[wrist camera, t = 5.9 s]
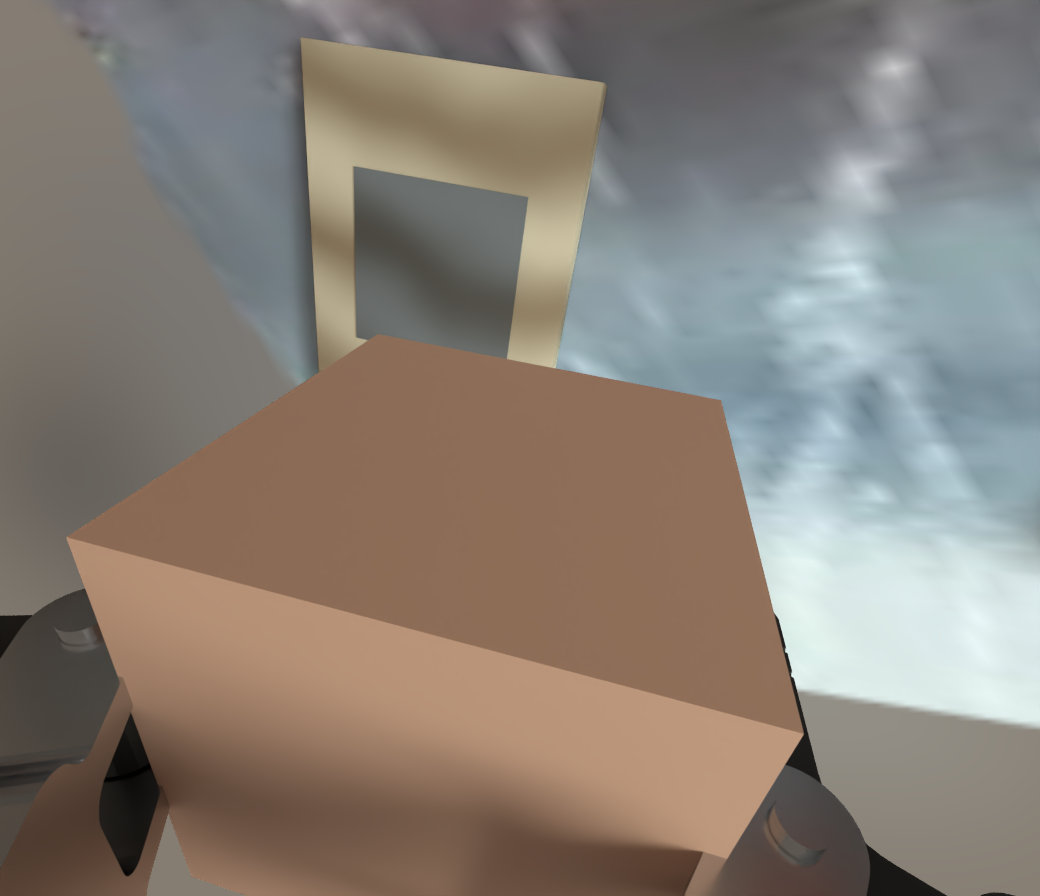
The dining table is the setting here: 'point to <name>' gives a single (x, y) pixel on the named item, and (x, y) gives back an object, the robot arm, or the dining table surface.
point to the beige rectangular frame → (444, 199)
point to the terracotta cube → (450, 635)
